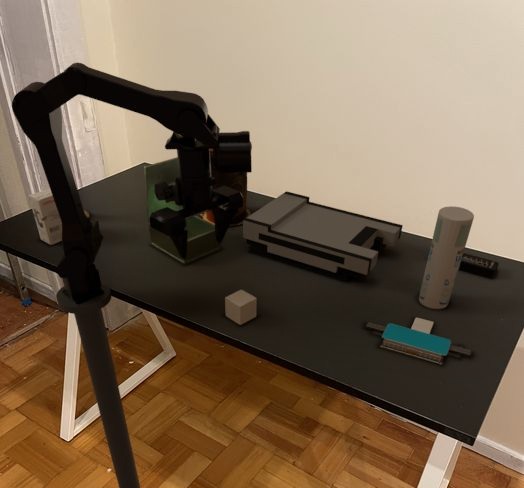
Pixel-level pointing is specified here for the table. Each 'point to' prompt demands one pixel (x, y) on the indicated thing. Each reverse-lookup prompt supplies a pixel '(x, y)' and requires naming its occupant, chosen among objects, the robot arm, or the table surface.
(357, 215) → the game console
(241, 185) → the vessel
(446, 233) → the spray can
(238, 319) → the white block
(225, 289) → the table surface
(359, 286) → the table surface
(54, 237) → the ink box
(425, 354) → the teal block with rod
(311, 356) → the table surface
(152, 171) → the box lid
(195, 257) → the storage tray
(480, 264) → the multiport hub
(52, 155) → the robot arm
